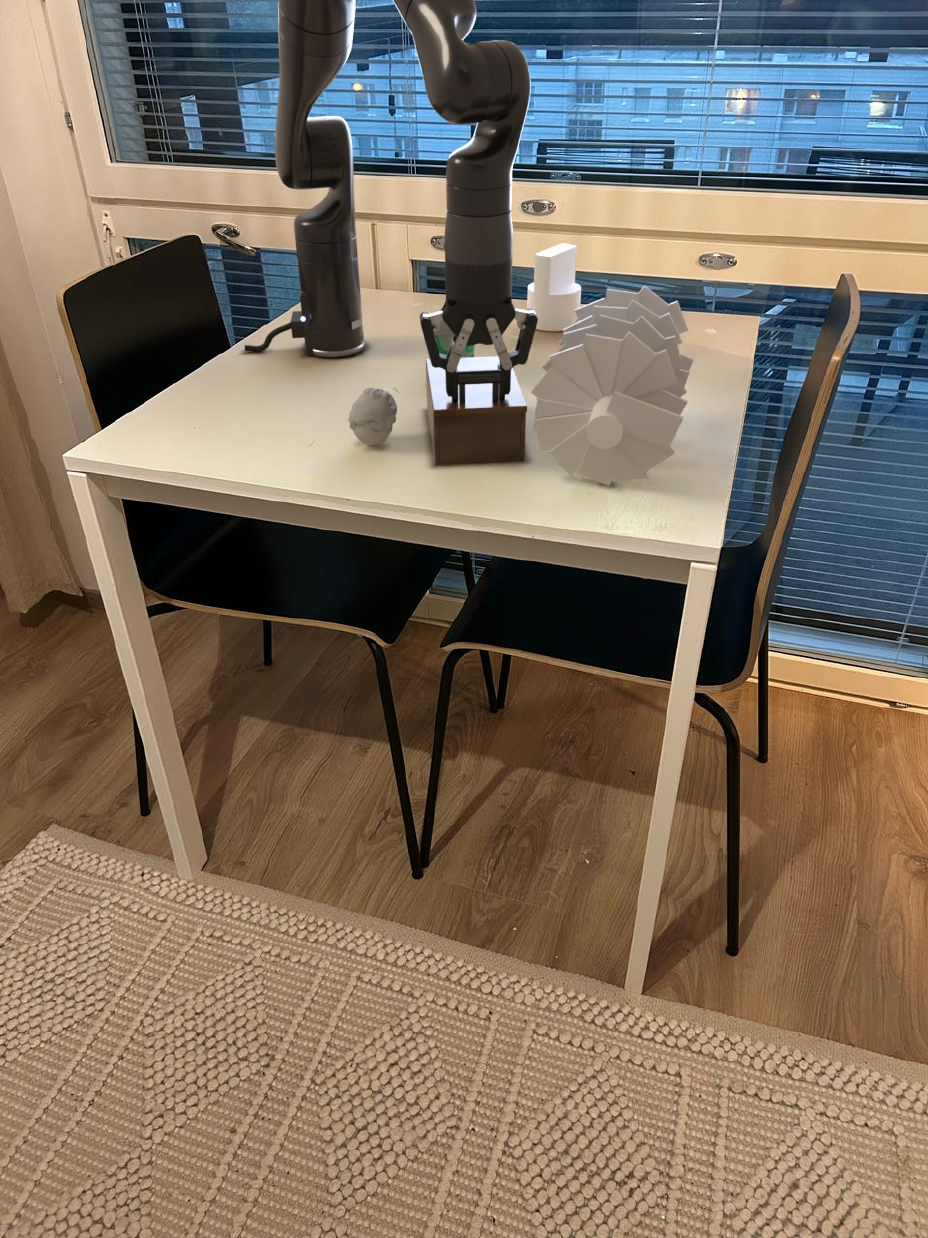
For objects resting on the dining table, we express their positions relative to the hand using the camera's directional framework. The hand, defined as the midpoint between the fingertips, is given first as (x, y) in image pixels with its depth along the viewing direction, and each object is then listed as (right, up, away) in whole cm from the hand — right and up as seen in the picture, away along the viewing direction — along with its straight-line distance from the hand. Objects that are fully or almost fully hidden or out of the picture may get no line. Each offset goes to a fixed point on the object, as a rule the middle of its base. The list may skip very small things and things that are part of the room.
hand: (478, 397), depth 113 cm
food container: (-2, +10, +27) cm, 29 cm away
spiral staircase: (+17, -6, +5) cm, 18 cm away
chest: (-1, -3, +9) cm, 10 cm away
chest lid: (-1, +3, +5) cm, 6 cm away
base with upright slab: (+14, +24, +47) cm, 55 cm away
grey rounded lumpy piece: (-13, -4, +8) cm, 16 cm away
